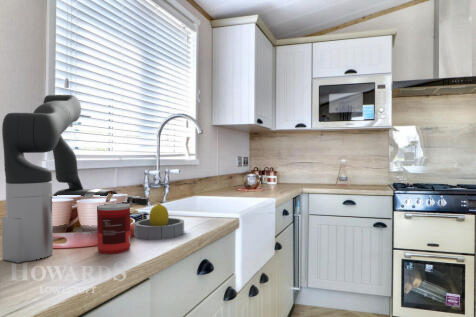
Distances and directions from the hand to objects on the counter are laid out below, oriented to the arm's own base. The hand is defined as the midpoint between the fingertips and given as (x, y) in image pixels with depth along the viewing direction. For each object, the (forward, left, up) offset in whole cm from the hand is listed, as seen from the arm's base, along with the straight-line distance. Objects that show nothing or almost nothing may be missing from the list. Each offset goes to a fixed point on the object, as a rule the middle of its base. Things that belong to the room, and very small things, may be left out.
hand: (137, 203), depth 109 cm
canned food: (-19, -11, -9) cm, 24 cm away
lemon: (0, -9, -8) cm, 12 cm away
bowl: (0, -9, -8) cm, 12 cm away
